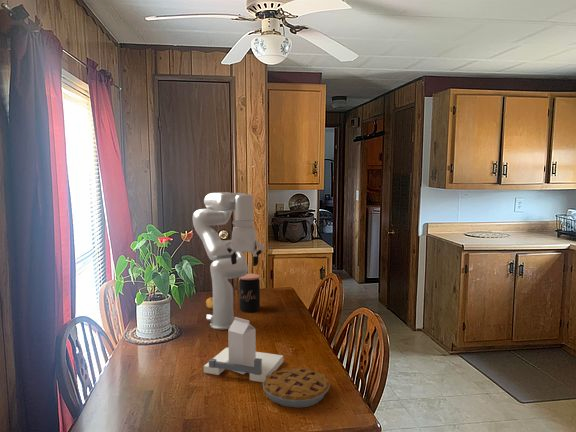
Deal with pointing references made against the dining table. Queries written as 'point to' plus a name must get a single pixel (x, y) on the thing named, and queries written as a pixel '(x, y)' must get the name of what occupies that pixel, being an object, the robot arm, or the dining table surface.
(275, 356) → the notched board
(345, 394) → the dining table surface
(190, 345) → the dining table surface
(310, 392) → the pie
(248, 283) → the coffee jar
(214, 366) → the hook rail
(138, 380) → the dining table surface
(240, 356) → the milk carton
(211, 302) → the bagel
